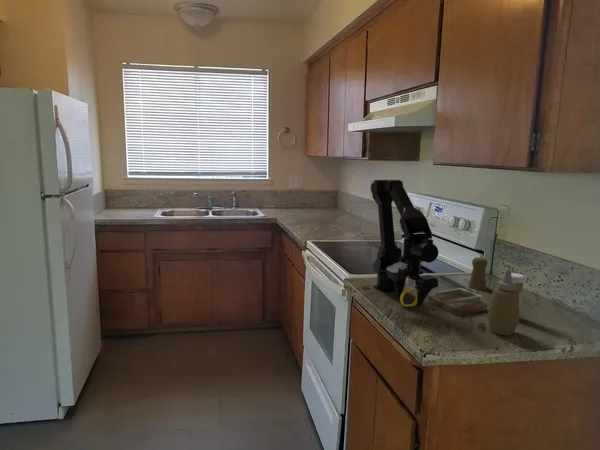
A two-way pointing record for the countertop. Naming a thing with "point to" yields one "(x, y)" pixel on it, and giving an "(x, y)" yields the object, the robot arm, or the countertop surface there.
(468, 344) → the countertop surface
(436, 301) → the dock
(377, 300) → the countertop surface
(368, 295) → the countertop surface
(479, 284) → the wooden pepper mill
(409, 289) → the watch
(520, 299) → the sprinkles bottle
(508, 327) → the squeeze bottle
